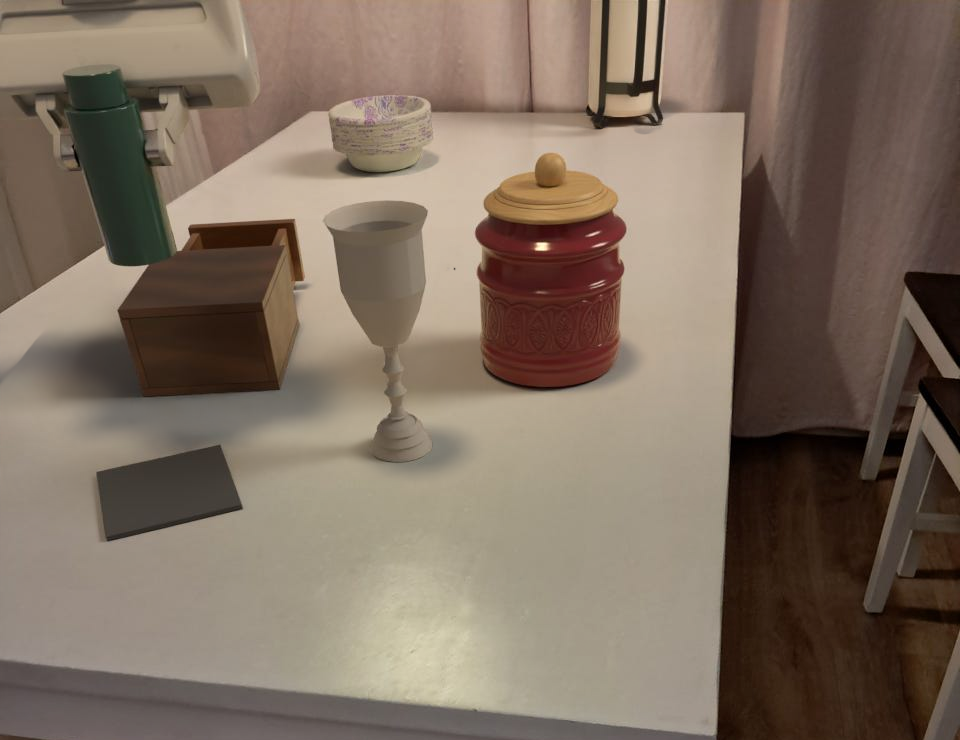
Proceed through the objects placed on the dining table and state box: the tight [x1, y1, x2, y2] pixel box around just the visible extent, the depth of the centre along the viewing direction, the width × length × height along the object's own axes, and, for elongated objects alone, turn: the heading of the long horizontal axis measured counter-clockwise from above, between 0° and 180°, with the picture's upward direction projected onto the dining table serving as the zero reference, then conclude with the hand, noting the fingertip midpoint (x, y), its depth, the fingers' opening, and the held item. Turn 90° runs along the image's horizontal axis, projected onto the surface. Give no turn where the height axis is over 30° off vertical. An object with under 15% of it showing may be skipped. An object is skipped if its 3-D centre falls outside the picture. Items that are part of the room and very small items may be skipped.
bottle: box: [62, 64, 178, 267], centre depth 65 cm, size 5×5×12 cm
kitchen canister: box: [474, 152, 628, 388], centre depth 81 cm, size 13×13×18 cm
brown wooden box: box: [116, 245, 300, 397], centre depth 87 cm, size 15×13×8 cm
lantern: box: [585, 0, 670, 129], centre depth 144 cm, size 17×16×30 cm
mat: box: [95, 444, 243, 542], centre depth 72 cm, size 10×10×1 cm
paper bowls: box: [327, 94, 434, 173], centre depth 138 cm, size 15×15×8 cm
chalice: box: [322, 200, 433, 463], centre depth 70 cm, size 7×7×18 cm
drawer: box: [180, 218, 306, 290], centre depth 98 cm, size 17×11×6 cm, turn 1°
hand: (115, 164), depth 64 cm, fingers closed on bottle, 5 cm apart
